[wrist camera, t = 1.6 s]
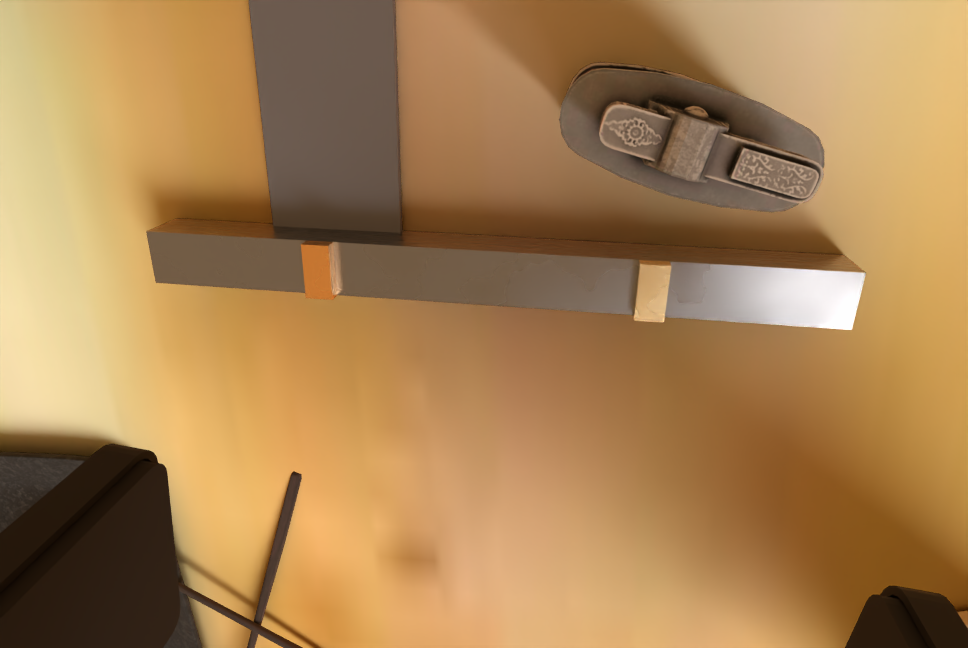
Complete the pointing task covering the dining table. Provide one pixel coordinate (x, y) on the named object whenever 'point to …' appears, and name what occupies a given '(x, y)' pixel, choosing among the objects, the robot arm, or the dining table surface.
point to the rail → (514, 272)
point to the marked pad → (330, 112)
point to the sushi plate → (29, 476)
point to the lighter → (690, 138)
